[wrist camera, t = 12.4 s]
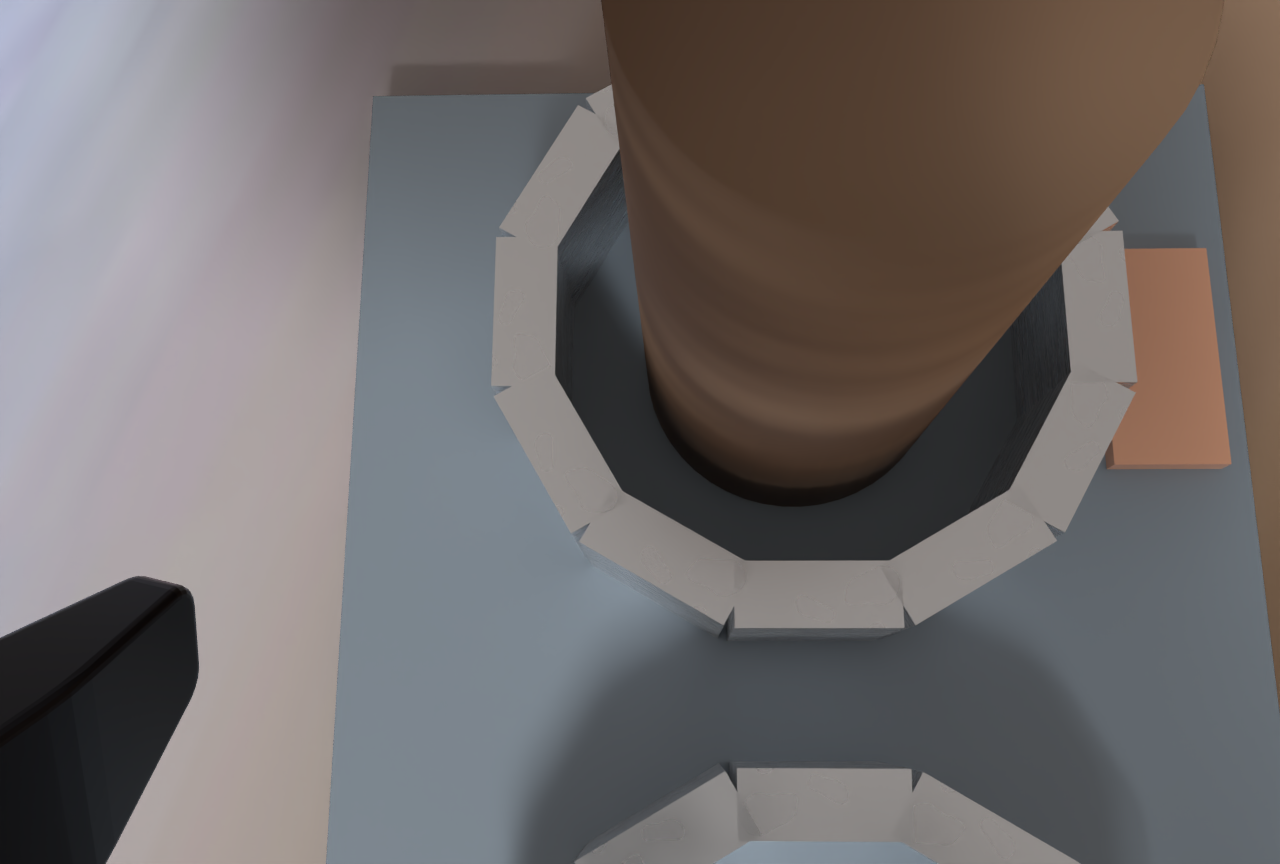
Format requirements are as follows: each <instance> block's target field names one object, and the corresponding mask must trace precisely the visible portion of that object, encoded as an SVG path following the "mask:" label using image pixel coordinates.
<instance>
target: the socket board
mask: <svg viewBox="0 0 1280 864" xmlns="http://www.w3.org/2000/svg"><path fill="white" fill-rule="evenodd" d="M326 864H1280V713H1279V705H1278V696H1277V688H1276V680H1275V671H1274V663H1273V655H1272V647H1271V638H1270V630H1269V622H1268V613H1267V605H1266V597H1265V588H1264V580H1263V572H1262V563H1261V555H1260V547H1259V539H1258V530H1257V522H1256V514H1255V505H1254V497H1253V489H1252V480H1251V472H1250V464H1249V455H1248V447H1247V439H1246V431H1245V422H1244V414H1243V406H1242V397H1241V389H1240V381H1239V372H1238V364H1237V356H1236V347H1235V339H1234V331H1233V323H1232V314H1231V306H1230V298H1229V289H1228V281H1227V273H1226V264H1225V256H1224V248H1223V239H1222V231H1221V223H1220V215H1219V206H1218V198H1217V190H1216V181H1215V173H1214V165H1213V156H1212V148H1211V140H1210V131H1209V123H1208V115H1207V107H1206V98H1205V90H1204V84H1201V85H1199V86H1198V88H1197V90H1196V92H1195V94H1194V96H1193V97H1192V99H1191V101H1190V103H1189V105H1188V107H1187V108H1186V110H1185V111H1184V113H1183V114H1182V115H1181V117H1180V118H1179V119H1178V121H1177V122H1176V123H1175V125H1174V126H1173V127H1172V129H1171V130H1170V131H1169V132H1168V134H1167V135H1166V136H1165V138H1164V139H1163V140H1162V142H1161V143H1160V144H1159V145H1158V146H1157V148H1156V149H1155V150H1154V151H1153V153H1152V154H1151V155H1150V156H1149V157H1148V159H1147V160H1146V161H1145V162H1144V164H1143V165H1142V166H1141V167H1140V168H1139V170H1138V171H1137V172H1136V173H1135V175H1134V176H1133V177H1132V178H1131V179H1130V181H1129V182H1128V183H1127V184H1126V186H1125V187H1124V188H1123V189H1122V190H1121V192H1120V193H1119V194H1118V195H1117V197H1116V198H1115V199H1114V200H1113V201H1112V203H1111V204H1110V205H1109V206H1108V207H1107V209H1106V210H1105V211H1104V212H1103V214H1102V215H1101V216H1100V217H1099V218H1098V220H1097V221H1096V222H1095V223H1094V225H1093V226H1092V227H1091V228H1090V229H1089V231H1088V232H1087V233H1086V234H1085V236H1084V237H1083V238H1082V239H1081V240H1080V242H1079V243H1078V244H1077V245H1076V247H1075V248H1074V249H1073V250H1072V251H1071V253H1070V254H1069V255H1068V256H1067V257H1066V259H1065V260H1064V261H1063V262H1062V264H1061V265H1060V266H1059V267H1058V268H1057V270H1056V271H1055V272H1054V273H1053V275H1052V276H1051V277H1050V278H1049V279H1048V281H1047V282H1046V283H1045V284H1044V286H1043V287H1042V288H1041V289H1040V290H1039V292H1038V293H1037V294H1036V295H1035V296H1034V298H1033V299H1032V300H1031V301H1030V303H1029V304H1028V305H1027V306H1026V307H1025V309H1024V310H1023V311H1022V312H1021V314H1020V315H1019V316H1018V317H1017V318H1016V320H1015V321H1014V322H1013V323H1012V325H1011V326H1010V327H1009V328H1008V329H1007V331H1006V332H1005V333H1004V334H1003V336H1002V337H1001V338H1000V339H999V340H998V342H997V343H996V344H995V345H994V346H993V348H992V349H991V350H990V351H989V353H988V354H987V355H986V356H985V357H984V359H983V360H982V361H981V362H980V364H979V365H978V366H977V367H976V368H975V370H974V371H973V372H972V373H971V375H970V376H969V377H968V378H967V379H966V381H965V382H964V383H963V384H962V386H961V387H960V388H959V389H958V390H957V392H956V393H955V394H954V395H953V396H952V398H951V399H950V400H949V401H948V403H947V404H946V405H945V406H944V407H943V409H942V410H941V411H940V412H939V414H938V415H937V416H936V417H935V418H934V420H933V421H932V422H931V423H930V425H929V426H928V427H927V428H926V429H925V431H924V432H923V433H922V434H921V436H920V437H919V438H918V439H917V440H916V442H915V443H914V444H913V445H912V446H911V448H910V449H909V450H908V451H907V453H906V454H905V455H904V456H903V457H902V459H901V460H900V461H899V462H898V463H897V464H896V465H895V466H894V467H893V468H892V469H891V470H890V471H889V472H888V473H886V474H885V475H884V476H882V477H881V478H880V479H878V480H877V481H876V482H874V483H873V484H871V485H869V486H868V487H866V488H864V489H862V490H860V491H859V492H857V493H855V494H852V495H850V496H847V497H845V498H842V499H840V500H836V501H832V502H828V503H824V504H820V505H812V506H803V507H782V506H775V505H767V504H761V503H758V502H754V501H750V500H747V499H744V498H741V497H739V496H736V495H734V494H732V493H729V492H727V491H725V490H723V489H721V488H720V487H718V486H716V485H715V484H713V483H711V482H709V481H708V480H707V479H706V478H704V477H703V476H702V475H700V474H699V473H698V472H696V471H695V470H694V469H693V468H692V467H691V466H690V465H689V464H688V463H687V462H686V461H685V460H684V459H683V458H682V457H681V456H680V454H679V453H678V452H677V451H676V449H675V448H674V447H673V445H672V444H671V443H670V441H669V439H668V438H667V436H666V434H665V432H664V431H663V429H662V427H661V425H660V423H659V420H658V418H657V415H656V413H655V411H654V407H653V404H652V400H651V396H650V392H649V384H648V376H647V368H646V360H645V352H644V343H643V335H642V327H641V319H640V311H639V303H638V295H637V286H636V278H635V270H634V262H633V254H632V246H631V238H630V230H629V221H628V213H627V205H626V197H625V189H624V181H623V173H622V164H621V156H620V148H619V140H618V132H617V124H616V116H615V108H614V99H613V91H612V84H611V85H609V86H607V87H606V88H604V89H602V90H600V91H598V92H596V93H564V94H493V95H422V96H373V107H372V124H371V140H370V156H369V172H368V189H367V205H366V221H365V238H364V254H363V270H362V287H361V303H360V319H359V336H358V352H357V368H356V384H355V401H354V417H353V433H352V450H351V466H350V482H349V499H348V515H347V531H346V547H345V564H344V580H343V596H342V613H341V629H340V645H339V662H338V678H337V694H336V711H335V727H334V743H333V759H332V776H331V792H330V808H329V825H328V841H327V857H326Z"/></svg>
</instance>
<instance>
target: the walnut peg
mask: <svg viewBox="0 0 1280 864" xmlns="http://www.w3.org/2000/svg"><path fill="white" fill-rule="evenodd" d="M601 2H602V10H603V18H604V26H605V34H606V42H607V51H608V59H609V67H610V75H611V83H612V91H613V99H614V108H615V116H616V124H617V132H618V140H619V148H620V156H621V164H622V173H623V181H624V189H625V197H626V205H627V213H628V221H629V230H630V238H631V246H632V254H633V262H634V270H635V278H636V286H637V295H638V303H639V311H640V319H641V327H642V335H643V343H644V352H645V360H646V368H647V376H648V384H649V392H650V396H651V400H652V404H653V407H654V411H655V413H656V415H657V418H658V420H659V423H660V425H661V427H662V429H663V431H664V432H665V434H666V436H667V438H668V439H669V441H670V443H671V444H672V445H673V447H674V448H675V449H676V451H677V452H678V453H679V454H680V456H681V457H682V458H683V459H684V460H685V461H686V462H687V463H688V464H689V465H690V466H691V467H692V468H693V469H694V470H695V471H696V472H698V473H699V474H700V475H702V476H703V477H704V478H706V479H707V480H708V481H709V482H711V483H713V484H715V485H716V486H718V487H720V488H721V489H723V490H725V491H727V492H729V493H732V494H734V495H736V496H739V497H741V498H744V499H747V500H750V501H754V502H758V503H761V504H767V505H775V506H782V507H803V506H812V505H820V504H824V503H828V502H832V501H836V500H840V499H842V498H845V497H847V496H850V495H852V494H855V493H857V492H859V491H860V490H862V489H864V488H866V487H868V486H869V485H871V484H873V483H874V482H876V481H877V480H878V479H880V478H881V477H882V476H884V475H885V474H886V473H888V472H889V471H890V470H891V469H892V468H893V467H894V466H895V465H896V464H897V463H898V462H899V461H900V460H901V459H902V457H903V456H904V455H905V454H906V453H907V451H908V450H909V449H910V448H911V446H912V445H913V444H914V443H915V442H916V440H917V439H918V438H919V437H920V436H921V434H922V433H923V432H924V431H925V429H926V428H927V427H928V426H929V425H930V423H931V422H932V421H933V420H934V418H935V417H936V416H937V415H938V414H939V412H940V411H941V410H942V409H943V407H944V406H945V405H946V404H947V403H948V401H949V400H950V399H951V398H952V396H953V395H954V394H955V393H956V392H957V390H958V389H959V388H960V387H961V386H962V384H963V383H964V382H965V381H966V379H967V378H968V377H969V376H970V375H971V373H972V372H973V371H974V370H975V368H976V367H977V366H978V365H979V364H980V362H981V361H982V360H983V359H984V357H985V356H986V355H987V354H988V353H989V351H990V350H991V349H992V348H993V346H994V345H995V344H996V343H997V342H998V340H999V339H1000V338H1001V337H1002V336H1003V334H1004V333H1005V332H1006V331H1007V329H1008V328H1009V327H1010V326H1011V325H1012V323H1013V322H1014V321H1015V320H1016V318H1017V317H1018V316H1019V315H1020V314H1021V312H1022V311H1023V310H1024V309H1025V307H1026V306H1027V305H1028V304H1029V303H1030V301H1031V300H1032V299H1033V298H1034V296H1035V295H1036V294H1037V293H1038V292H1039V290H1040V289H1041V288H1042V287H1043V286H1044V284H1045V283H1046V282H1047V281H1048V279H1049V278H1050V277H1051V276H1052V275H1053V273H1054V272H1055V271H1056V270H1057V268H1058V267H1059V266H1060V265H1061V264H1062V262H1063V261H1064V260H1065V259H1066V257H1067V256H1068V255H1069V254H1070V253H1071V251H1072V250H1073V249H1074V248H1075V247H1076V245H1077V244H1078V243H1079V242H1080V240H1081V239H1082V238H1083V237H1084V236H1085V234H1086V233H1087V232H1088V231H1089V229H1090V228H1091V227H1092V226H1093V225H1094V223H1095V222H1096V221H1097V220H1098V218H1099V217H1100V216H1101V215H1102V214H1103V212H1104V211H1105V210H1106V209H1107V207H1108V206H1109V205H1110V204H1111V203H1112V201H1113V200H1114V199H1115V198H1116V197H1117V195H1118V194H1119V193H1120V192H1121V190H1122V189H1123V188H1124V187H1125V186H1126V184H1127V183H1128V182H1129V181H1130V179H1131V178H1132V177H1133V176H1134V175H1135V173H1136V172H1137V171H1138V170H1139V168H1140V167H1141V166H1142V165H1143V164H1144V162H1145V161H1146V160H1147V159H1148V157H1149V156H1150V155H1151V154H1152V153H1153V151H1154V150H1155V149H1156V148H1157V146H1158V145H1159V144H1160V143H1161V142H1162V140H1163V139H1164V138H1165V136H1166V135H1167V134H1168V132H1169V131H1170V130H1171V129H1172V127H1173V126H1174V125H1175V123H1176V122H1177V121H1178V119H1179V118H1180V117H1181V115H1182V114H1183V113H1184V111H1185V110H1186V108H1187V107H1188V105H1189V103H1190V101H1191V99H1192V97H1193V96H1194V94H1195V92H1196V90H1197V88H1198V86H1199V85H1200V83H1201V81H1202V79H1203V77H1204V75H1205V72H1206V69H1207V67H1208V64H1209V61H1210V58H1211V56H1212V53H1213V50H1214V48H1215V45H1216V42H1217V37H1218V32H1219V27H1220V22H1221V17H1222V12H1223V7H1224V0H601Z"/></svg>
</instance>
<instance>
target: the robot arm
mask: <svg viewBox="0 0 1280 864" xmlns="http://www.w3.org/2000/svg"><path fill="white" fill-rule="evenodd" d="M198 672H199V659H198V645H197V632H196V618H195V605H194V600H193V596H192V594H191V592H190V591H189V590H188V589H187V588H185V587H183V586H182V585H178V584H174V583H170V582H166V581H162V580H158V579H153V578H149V577H145V576H136V577H132V578H129V579H126V580H124V581H122V582H119V583H117V584H115V585H113V586H111V587H109V588H107V589H104V590H102V591H100V592H98V593H96V594H94V595H91V596H89V597H87V598H85V599H83V600H81V601H78V602H76V603H74V604H72V605H70V606H68V607H66V608H63V609H61V610H59V611H57V612H55V613H53V614H50V615H48V616H46V617H44V618H42V619H40V620H37V621H35V622H33V623H31V624H29V625H27V626H25V627H22V628H20V629H18V630H16V631H14V632H12V633H9V634H7V635H5V636H3V637H1V638H0V864H106V862H107V860H108V858H109V857H110V855H111V853H112V851H113V849H114V847H115V846H116V844H117V842H118V840H119V838H120V836H121V834H122V832H123V830H124V828H125V826H126V824H127V822H128V820H129V818H130V816H131V814H132V813H133V811H134V809H135V807H136V805H137V803H138V801H139V799H140V797H141V795H142V793H143V791H144V789H145V787H146V785H147V783H148V781H149V779H150V778H151V776H152V774H153V772H154V770H155V768H156V766H157V764H158V762H159V760H160V758H161V756H162V754H163V752H164V750H165V748H166V746H167V744H168V743H169V741H170V739H171V737H172V735H173V733H174V731H175V729H176V727H177V725H178V723H179V721H180V719H181V717H182V715H183V713H184V711H185V709H186V707H187V706H188V704H189V702H190V700H191V697H192V695H193V692H194V690H195V687H196V683H197V679H198Z"/></svg>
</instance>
